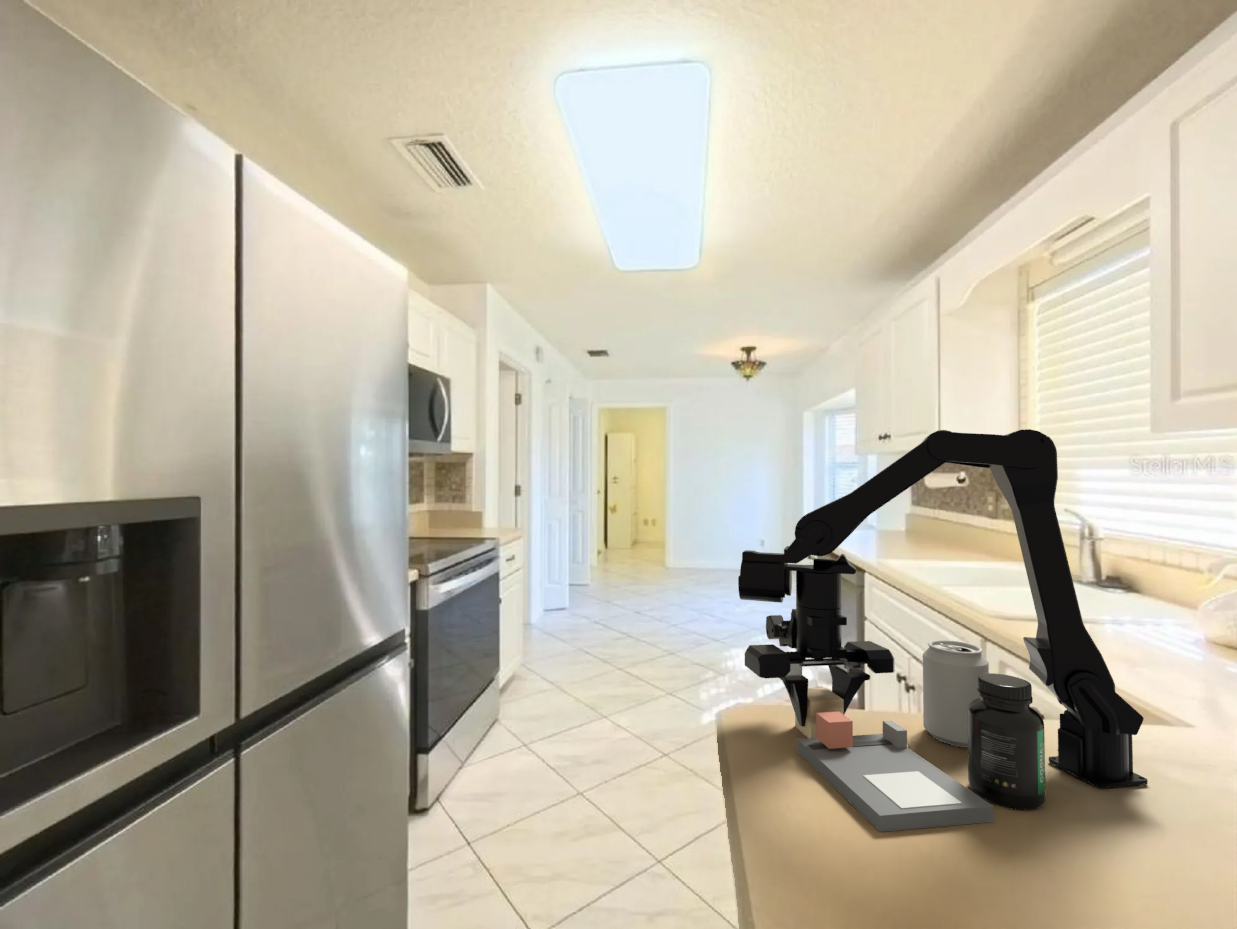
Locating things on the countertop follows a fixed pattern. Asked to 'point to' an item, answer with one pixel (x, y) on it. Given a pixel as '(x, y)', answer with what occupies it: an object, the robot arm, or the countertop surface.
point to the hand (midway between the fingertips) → (818, 724)
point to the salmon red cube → (834, 730)
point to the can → (950, 688)
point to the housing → (819, 708)
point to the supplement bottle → (1006, 744)
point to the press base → (894, 782)
